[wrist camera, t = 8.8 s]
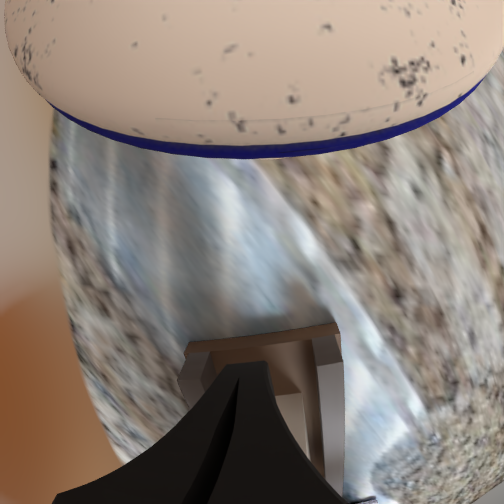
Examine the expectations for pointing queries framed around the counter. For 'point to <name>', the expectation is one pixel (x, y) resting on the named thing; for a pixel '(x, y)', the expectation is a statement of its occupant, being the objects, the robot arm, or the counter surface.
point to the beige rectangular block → (295, 418)
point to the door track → (286, 382)
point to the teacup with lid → (254, 69)
